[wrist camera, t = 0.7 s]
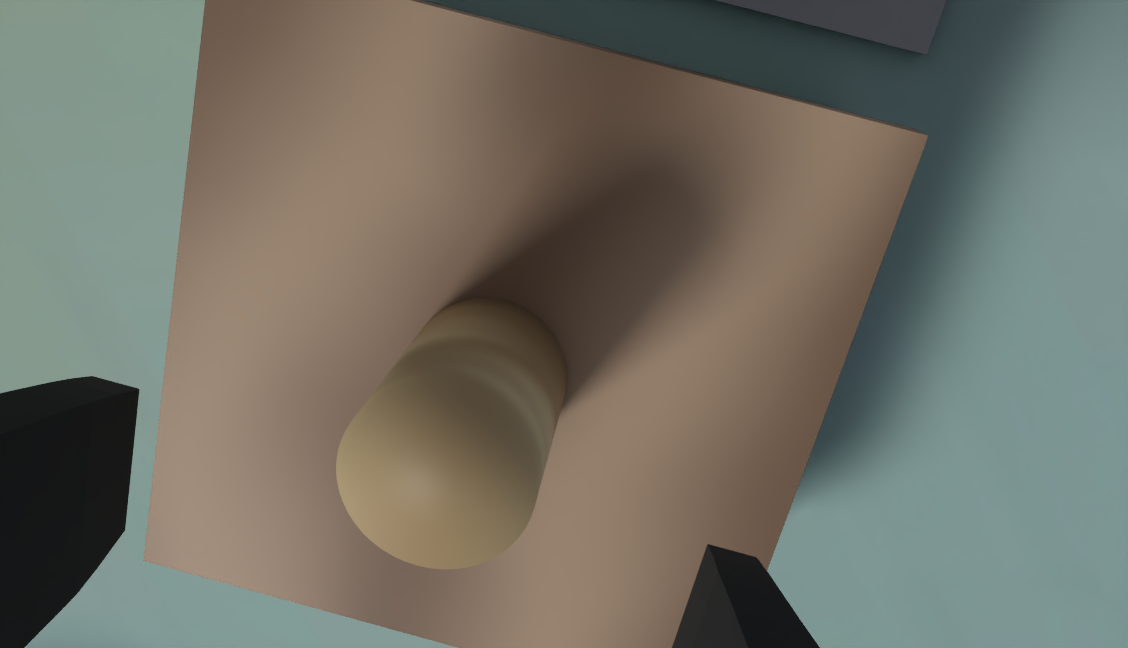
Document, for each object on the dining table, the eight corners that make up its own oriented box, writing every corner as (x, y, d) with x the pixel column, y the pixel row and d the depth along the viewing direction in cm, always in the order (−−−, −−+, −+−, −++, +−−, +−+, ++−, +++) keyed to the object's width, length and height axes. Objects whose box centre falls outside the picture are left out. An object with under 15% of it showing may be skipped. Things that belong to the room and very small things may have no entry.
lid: (907, 125, 16) (1017, 179, 11) (709, 670, 20) (722, 898, 15) (248, -48, 16) (57, -72, 11) (178, 524, 20) (11, 699, 15)
